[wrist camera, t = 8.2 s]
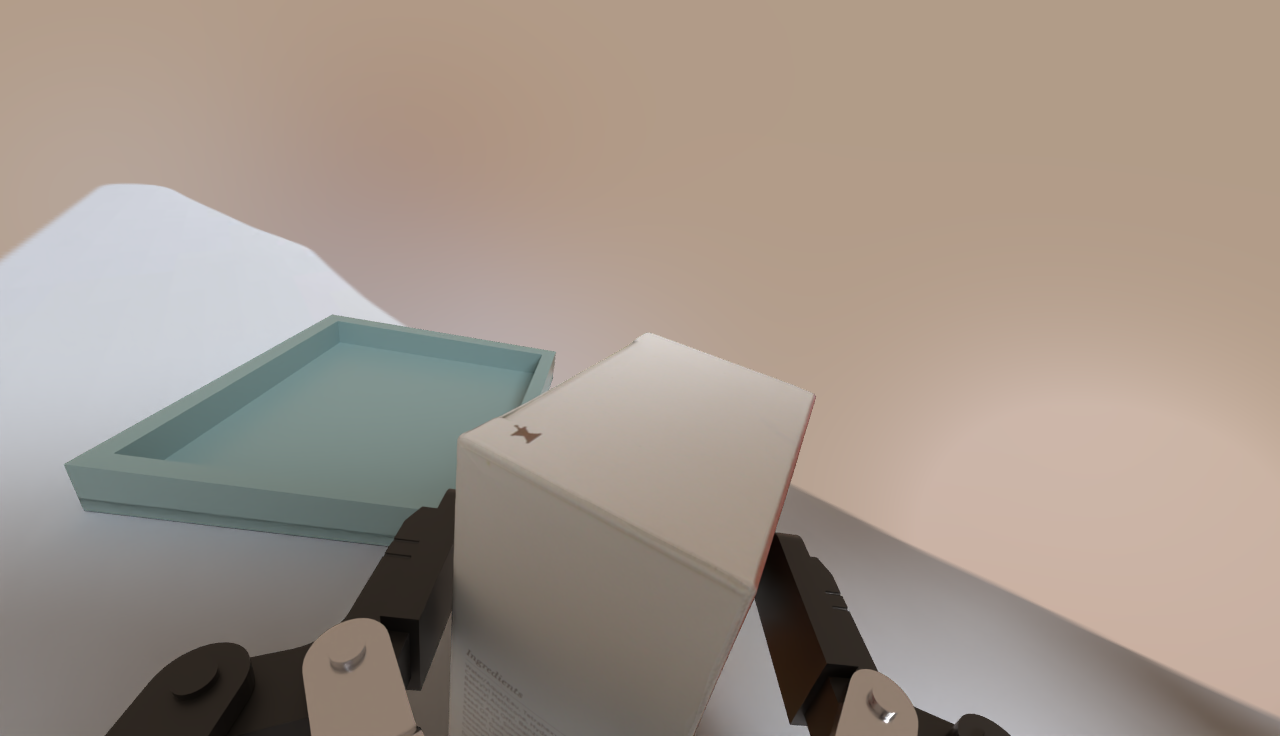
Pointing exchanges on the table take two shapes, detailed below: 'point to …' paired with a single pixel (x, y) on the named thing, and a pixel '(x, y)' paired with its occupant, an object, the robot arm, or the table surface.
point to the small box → (615, 543)
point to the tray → (316, 433)
